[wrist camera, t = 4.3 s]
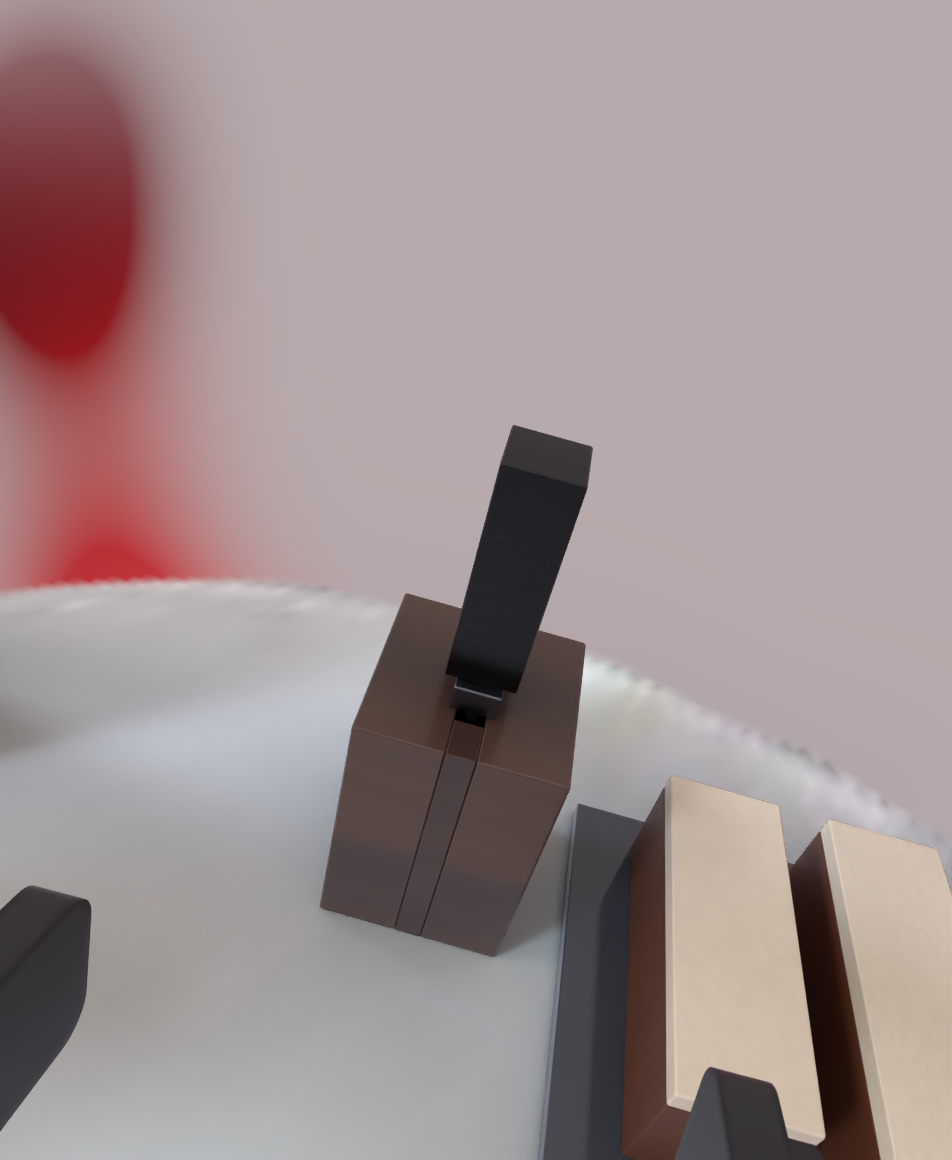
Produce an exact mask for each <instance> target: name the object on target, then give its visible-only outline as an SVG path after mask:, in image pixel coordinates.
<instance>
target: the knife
mask: <svg viewBox="0 0 952 1160" xmlns="http://www.w3.org/2000/svg"><path fill="white" fill-rule="evenodd" d="M592 450H593V448H592V447H591V446H588V445H584V444H580V443H577V442H573V441H570V440H566V439H562V438H559V437H555V436H552V435H548V434H544V433H541V432H537V431H533V430H530V429H526V428H523V427H519V426H516V425H513V426H512V428H511V431H510V435H509V438H508V441H507V444H506V447H505V450H504V454H503V457H502V460H501V463H500V467H499V470H498V474H497V478H496V482H495V485H494V490H493V493H492V497H491V501H490V504H489V508H488V512H487V516H486V520H485V523H484V527H483V531H482V535H481V538H480V542H479V546H478V550H477V554H476V557H475V561H474V565H473V569H472V573H471V577H470V580H469V584H468V588H467V591H466V595H465V599H464V603H463V607H462V610H461V614H460V618H459V622H458V625H457V629H456V633H455V637H454V640H453V644H452V648H451V652H450V656H449V659H448V663H447V667H446V671H445V674H447V675H450V676H454V677H457V678H456V681H455V685H454V688H453V692H452V695H451V699H450V703H449V707H450V708H454V709H457V710H461V711H464V713H463V716H462V720H461V722H464V723H468V724H471V725H475V722H476V719H477V716H478V715H479V716H482V717H486V718H489V719H493V720H495V719H496V718H497V715H498V712H499V709H500V705H501V702H502V699H503V694H504V691H507V692H511V693H514V694H516V693H517V691H518V688H519V685H520V682H521V679H522V676H523V673H524V671H525V668H526V665H527V662H528V659H529V656H530V653H531V650H532V647H533V644H534V642H535V639H536V636H537V633H538V630H539V627H540V624H541V621H542V618H543V616H544V613H545V610H546V607H547V604H548V601H549V598H550V595H551V592H552V589H553V586H554V584H555V581H556V578H557V575H558V572H559V569H560V566H561V563H562V560H563V557H564V555H565V552H566V549H567V546H568V543H569V540H570V537H571V534H572V532H573V529H574V526H575V523H576V520H577V517H578V514H579V511H580V508H581V506H582V503H583V500H584V497H585V494H586V491H587V487H588V480H589V472H590V465H591V458H592Z"/></svg>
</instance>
